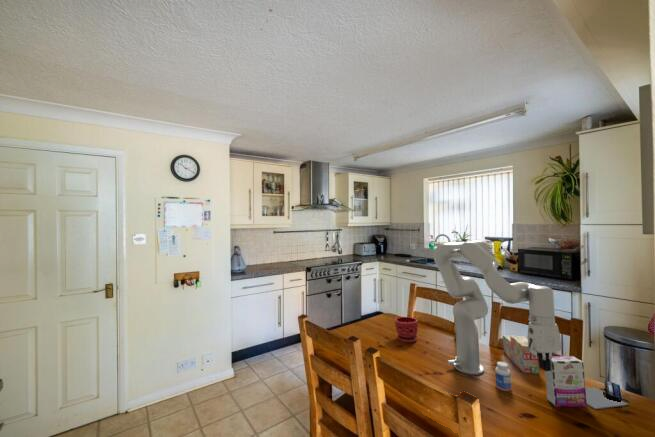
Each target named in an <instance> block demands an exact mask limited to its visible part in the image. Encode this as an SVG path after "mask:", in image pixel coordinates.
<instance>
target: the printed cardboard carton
mask: <svg viewBox="0 0 655 437" xmlns="http://www.w3.org/2000/svg"><path fill="white" fill-rule="evenodd" d="M502 342H503V343H502V345H503V346H502V347H503V353H504V354H505V355H506V357H508V358H509V359H510V360H511V361H512V363H514V364H515V365H516V366H517V367H518V368H519V370H521V371H522V372H523V373H524V374H525V373H526V374H537V373H540V372H539V370H540V367H539V357H537V355H533V354H531V353H530V348H529V347H528V337H527V338H526V337H525V336H524V335H513V334H511V335H510V334H508V335H507V334H503V335H502Z"/></svg>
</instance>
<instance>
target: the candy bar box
mask: <svg viewBox="0 0 655 437" xmlns="http://www.w3.org/2000/svg"><path fill="white" fill-rule="evenodd" d="M550 366H551V371H545V370H544V373H545V390H546V398H547V401H549V402H550V403H551V404H552V405H554V407H555V408H564V407H565V408H572V407H573V408H574V407H575V408H577V407H578V408H579V407H580V408H581V407H582V408H583V407H587V406H588V405H587V403H586V391H585V389H586V379H585V378H586V377H585V369H584V361H583V360H581V359H579V358H578V357H576V356H574V355H561V356H560V355H557V356H556V355H555V356H554V355H552V359H551V360H550Z"/></svg>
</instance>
